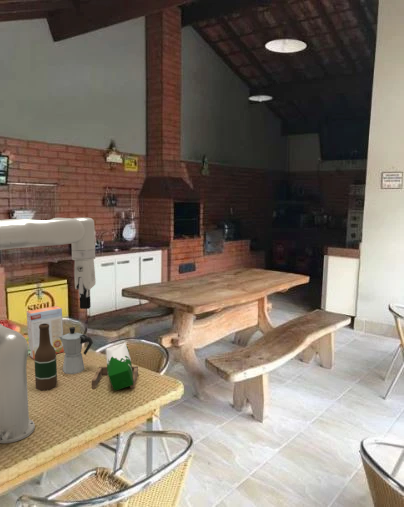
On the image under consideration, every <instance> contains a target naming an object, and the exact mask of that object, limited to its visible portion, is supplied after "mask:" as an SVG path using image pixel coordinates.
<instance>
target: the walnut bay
mask: <svg viewBox="0 0 404 507" xmlns="http://www.w3.org/2000/svg"><path fill="white" fill-rule="evenodd" d="M132 371H133V385H131V386H129V388H130V389H135V385H136V381H137V378H138V375H139V367H138V366H136V365H135V366H132ZM102 376H108V373H107V366H98V368H97V370H96V372H95V374H94V376H93V378H92V380H91V389H96V388H97V387H98V384H99V382H100V380H101V377H102Z"/></svg>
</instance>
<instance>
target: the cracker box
mask: <svg viewBox="0 0 404 507" xmlns="http://www.w3.org/2000/svg"><path fill="white" fill-rule="evenodd" d="M45 323H46V324H49V335H50V342H51V345H52V346H53V347H54V349H55V351H56V355H57V354H61V353H64V349H63V343H62V341H61V339H60V338H59V337H58V336H63V335H64V328H63V326H64V325H63V308H62V307H60V306H58V305H55V306H48V307H42V308H36V309H31V310H26V325H27V338H28V337H29V340H27V343H28V350H29V349H30V350H31V354H30V355H29V354H28V357H30V358H32V359H33V360H35V353H36V351H37V349H38V347H39V339H40V329H39V325H40V324H45Z"/></svg>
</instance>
